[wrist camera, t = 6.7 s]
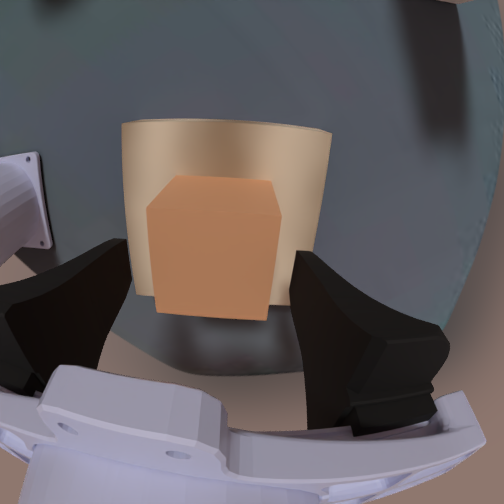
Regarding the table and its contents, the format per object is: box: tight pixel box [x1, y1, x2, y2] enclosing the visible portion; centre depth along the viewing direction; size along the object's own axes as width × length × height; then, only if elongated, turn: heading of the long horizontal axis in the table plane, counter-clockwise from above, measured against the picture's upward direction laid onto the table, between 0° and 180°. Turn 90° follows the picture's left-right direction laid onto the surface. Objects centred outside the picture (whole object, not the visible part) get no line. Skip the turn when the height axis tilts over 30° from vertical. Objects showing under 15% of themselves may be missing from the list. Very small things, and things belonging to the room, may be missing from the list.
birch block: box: [122, 119, 332, 305], centre depth 17 cm, size 11×11×4 cm
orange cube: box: [146, 175, 282, 320], centre depth 14 cm, size 5×5×5 cm
